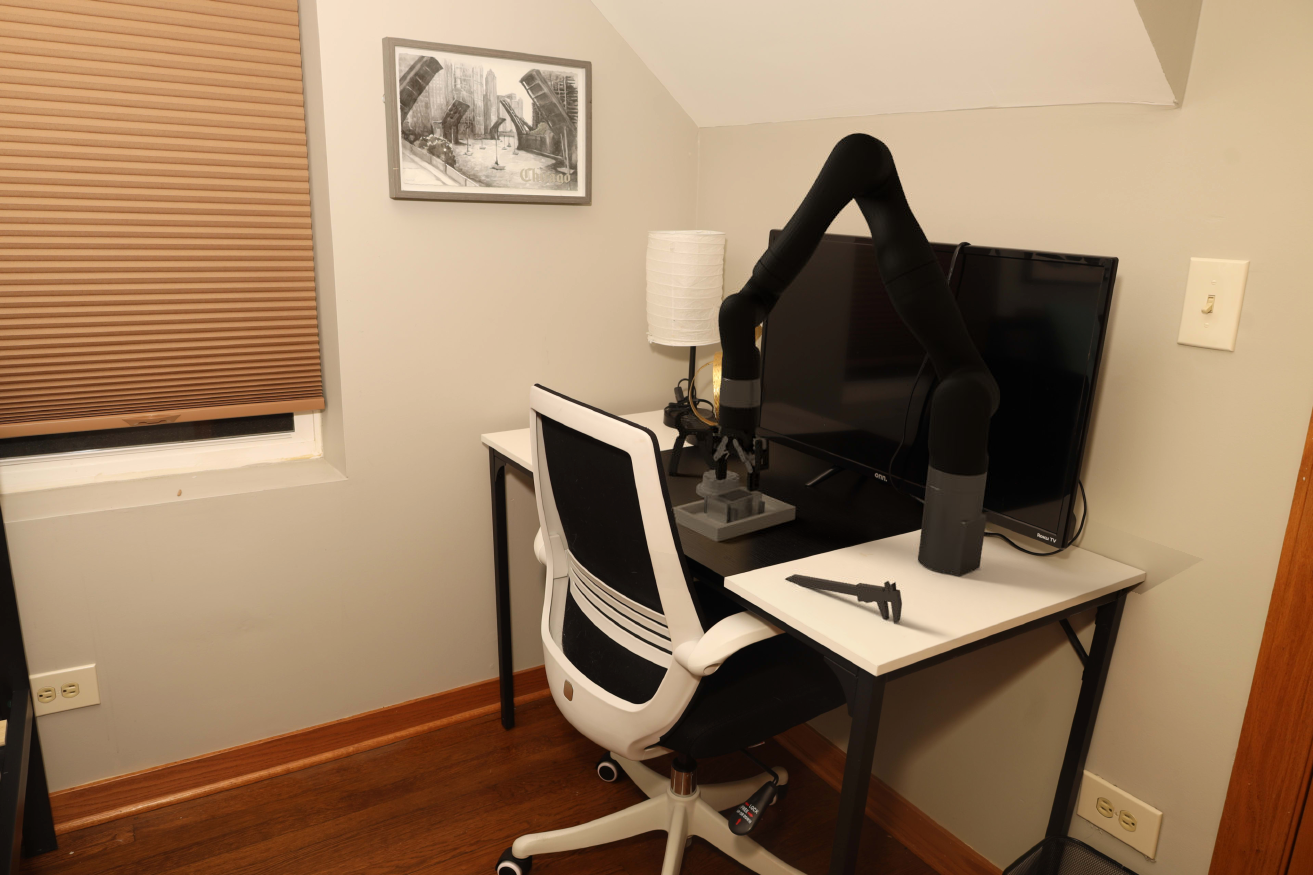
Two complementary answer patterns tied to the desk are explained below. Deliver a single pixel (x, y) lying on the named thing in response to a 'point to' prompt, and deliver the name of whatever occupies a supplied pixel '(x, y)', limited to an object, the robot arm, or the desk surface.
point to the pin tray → (733, 518)
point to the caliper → (858, 592)
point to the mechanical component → (717, 484)
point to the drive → (733, 504)
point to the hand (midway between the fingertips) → (736, 484)
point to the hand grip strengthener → (680, 442)
